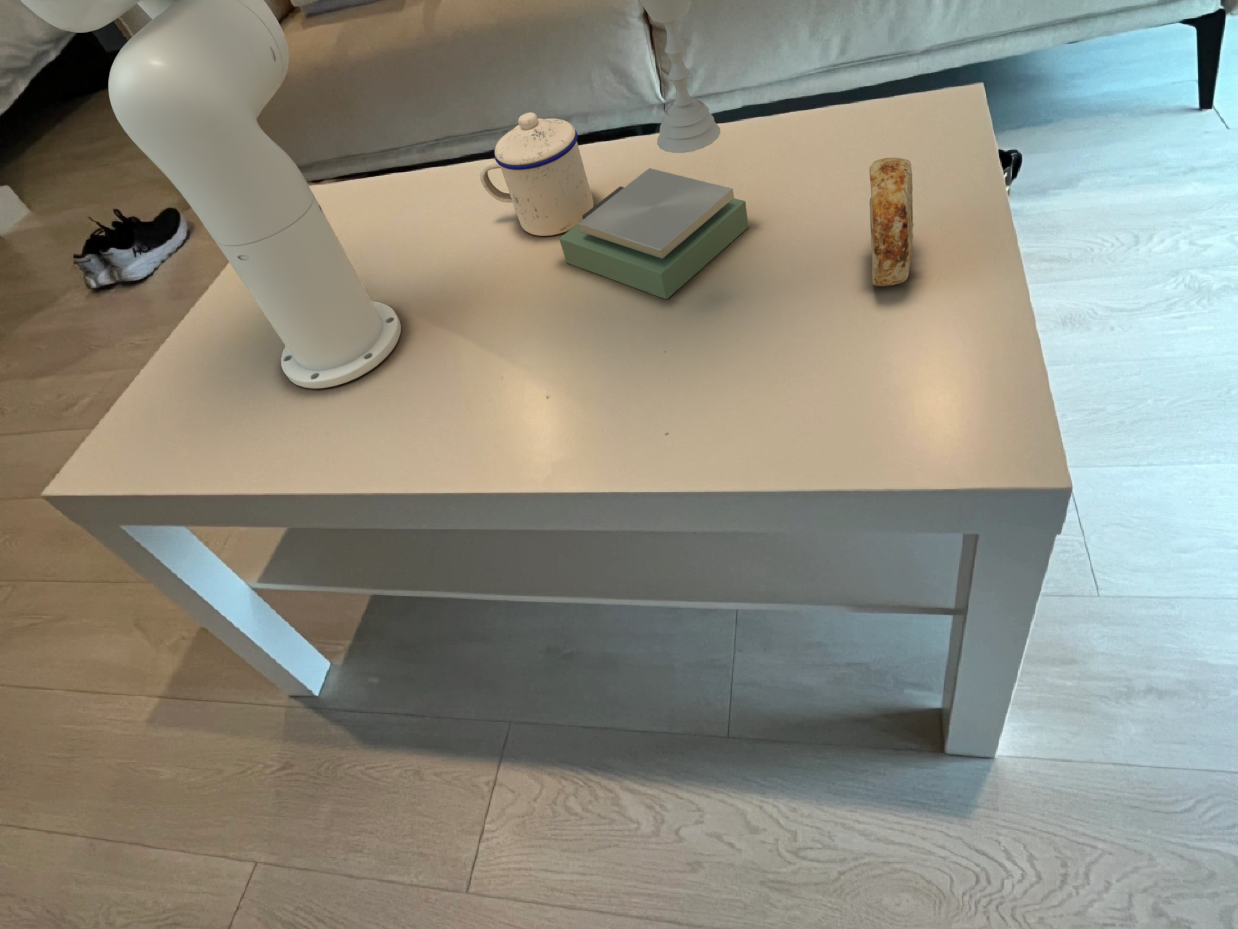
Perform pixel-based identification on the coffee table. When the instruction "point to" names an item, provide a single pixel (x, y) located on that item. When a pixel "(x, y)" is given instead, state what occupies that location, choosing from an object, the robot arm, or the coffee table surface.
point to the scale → (649, 269)
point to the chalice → (680, 87)
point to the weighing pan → (656, 212)
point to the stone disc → (891, 220)
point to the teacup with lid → (541, 175)
